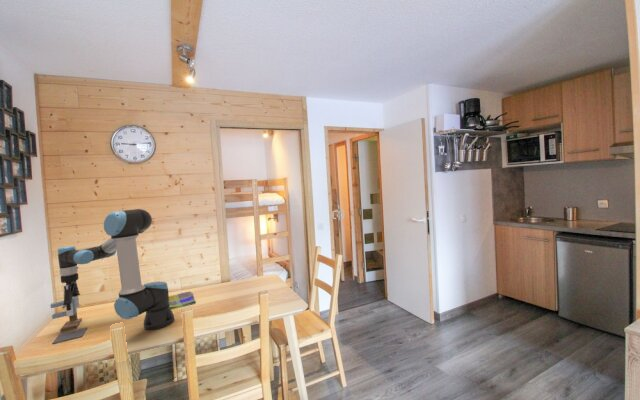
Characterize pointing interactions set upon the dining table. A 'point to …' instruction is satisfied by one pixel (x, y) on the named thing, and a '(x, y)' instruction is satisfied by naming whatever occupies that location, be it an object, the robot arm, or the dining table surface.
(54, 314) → the c link
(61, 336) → the mat
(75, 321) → the stand
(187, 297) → the green and purple book
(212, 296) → the dining table surface
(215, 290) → the dining table surface
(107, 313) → the dining table surface
